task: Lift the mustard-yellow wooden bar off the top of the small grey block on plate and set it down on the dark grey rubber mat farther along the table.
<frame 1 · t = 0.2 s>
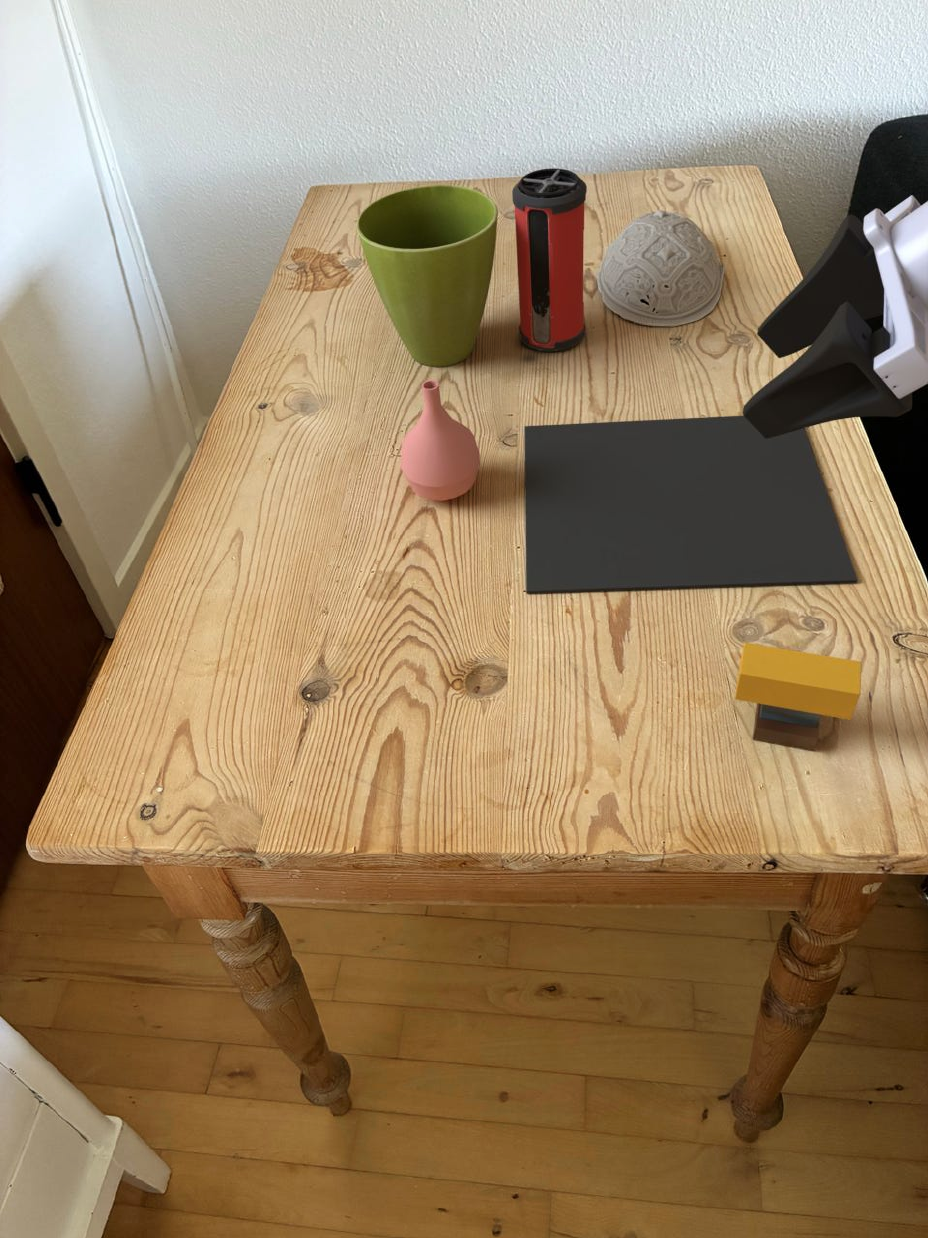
hand: (761, 381, 51), 29 cm above the table, tool tilted 45°, fingers open, 7 cm apart
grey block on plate: (785, 722, 71), on the table
flower pot: (442, 352, 110), on the table
mat: (673, 498, 89), on the table
speaker: (552, 337, 110), on the table
carved stone dome: (660, 275, 118), on the table
pink bud vase: (444, 490, 93), on the table
bar: (793, 693, 68), point 3 cm above the table, touching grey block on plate
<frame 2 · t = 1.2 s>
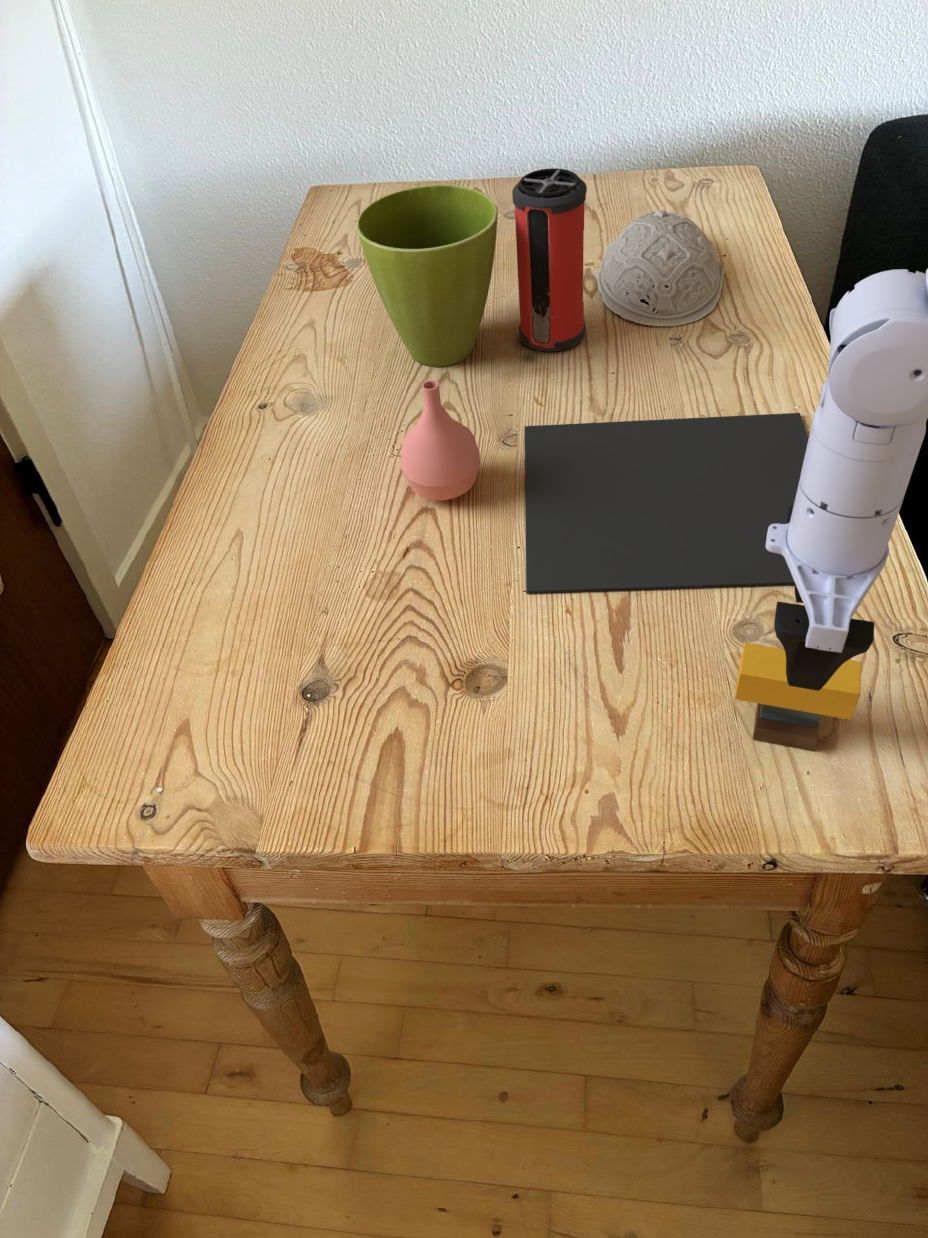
hand: (807, 641, 64), 9 cm above the table, tool pointing down, fingers open, 7 cm apart
nothing on the table moved.
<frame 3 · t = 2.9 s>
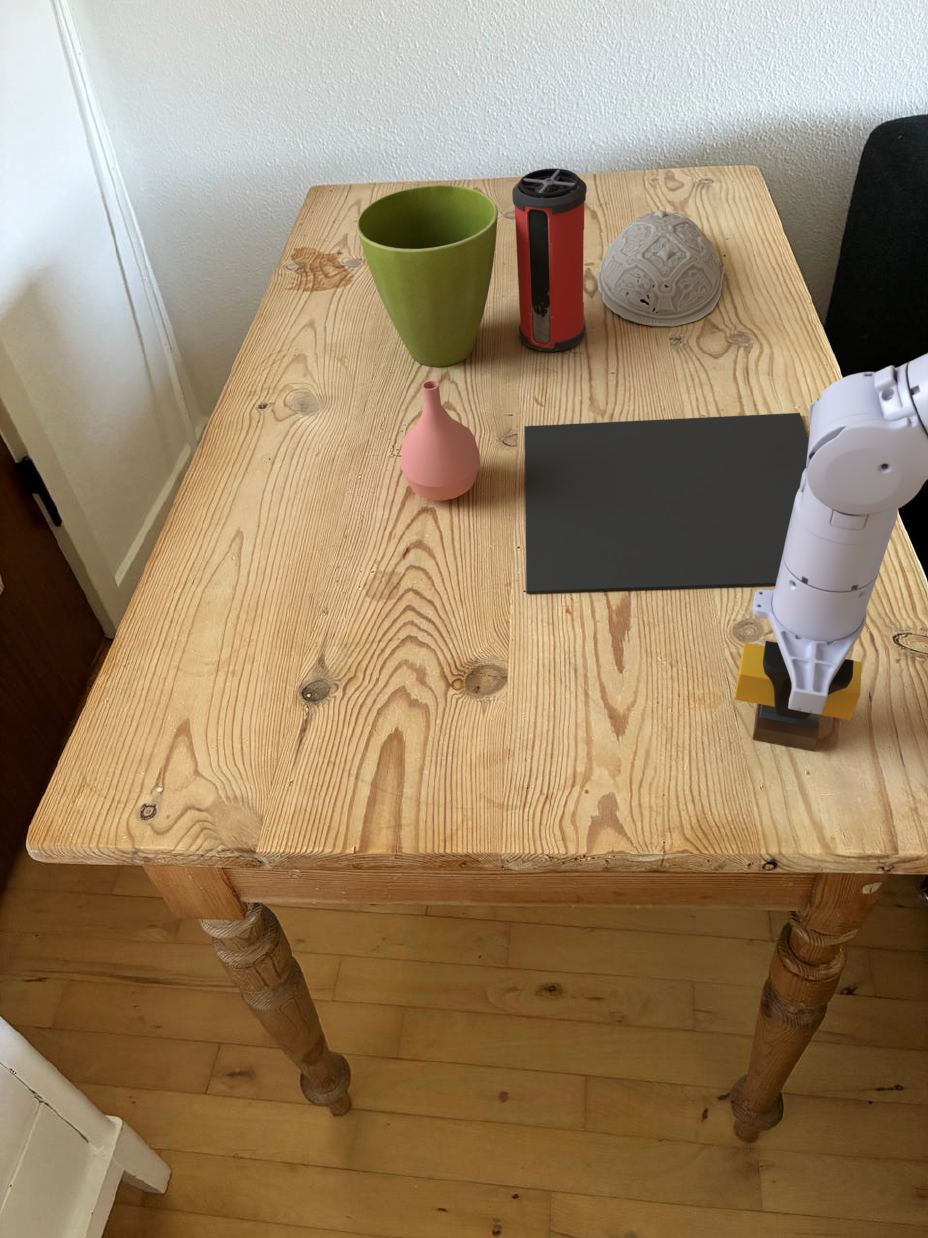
hand: (793, 694, 68), 3 cm above the table, tool pointing down, fingers closed on bar, 3 cm apart
bar: (793, 693, 68), point 4 cm above the table, touching gripper, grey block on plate
everything else where it was.
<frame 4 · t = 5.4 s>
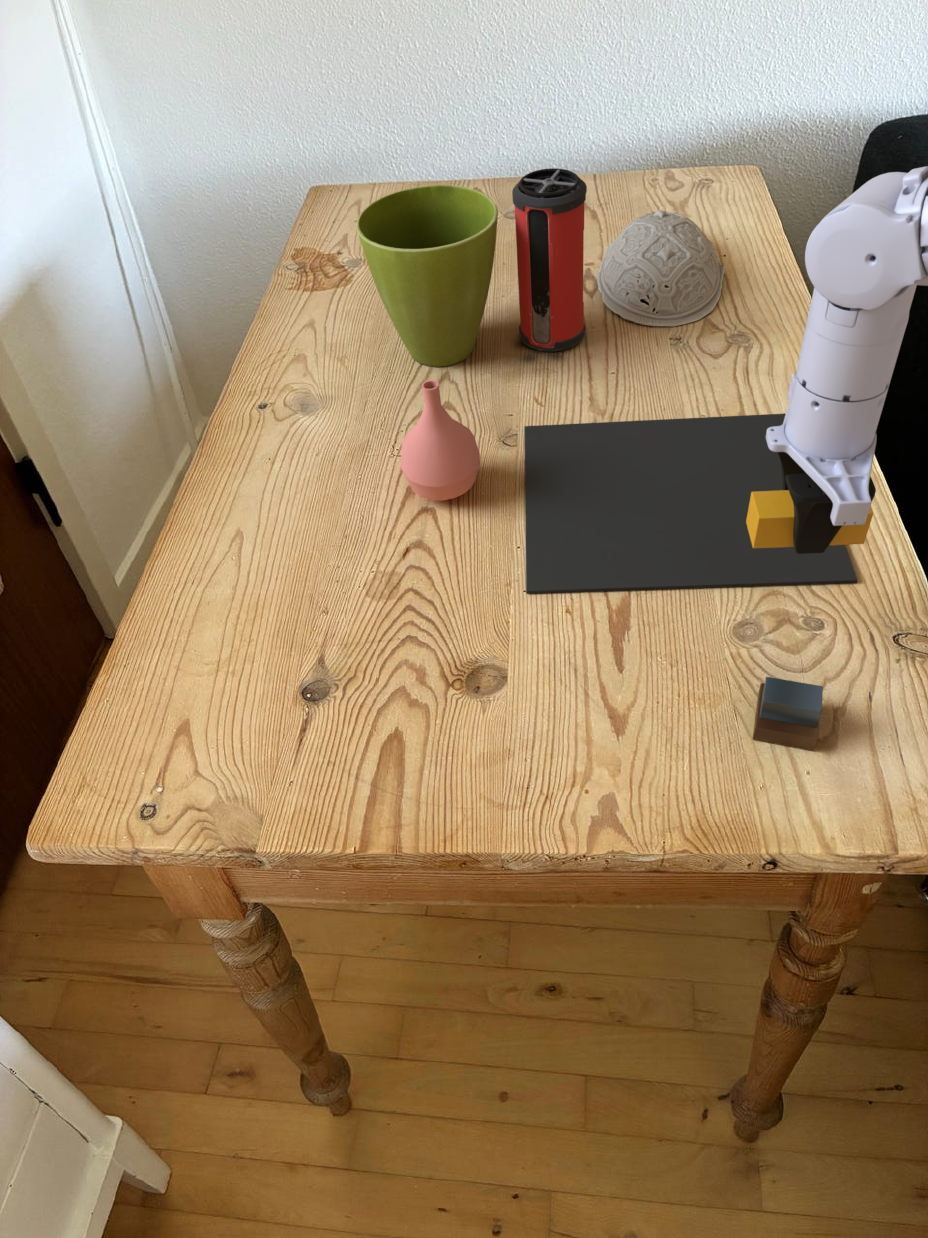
hand: (804, 533, 70), 10 cm above the table, tool pointing down, fingers closed on bar, 3 cm apart
bar: (803, 532, 70), point 10 cm above the table, touching gripper
everything else where it was.
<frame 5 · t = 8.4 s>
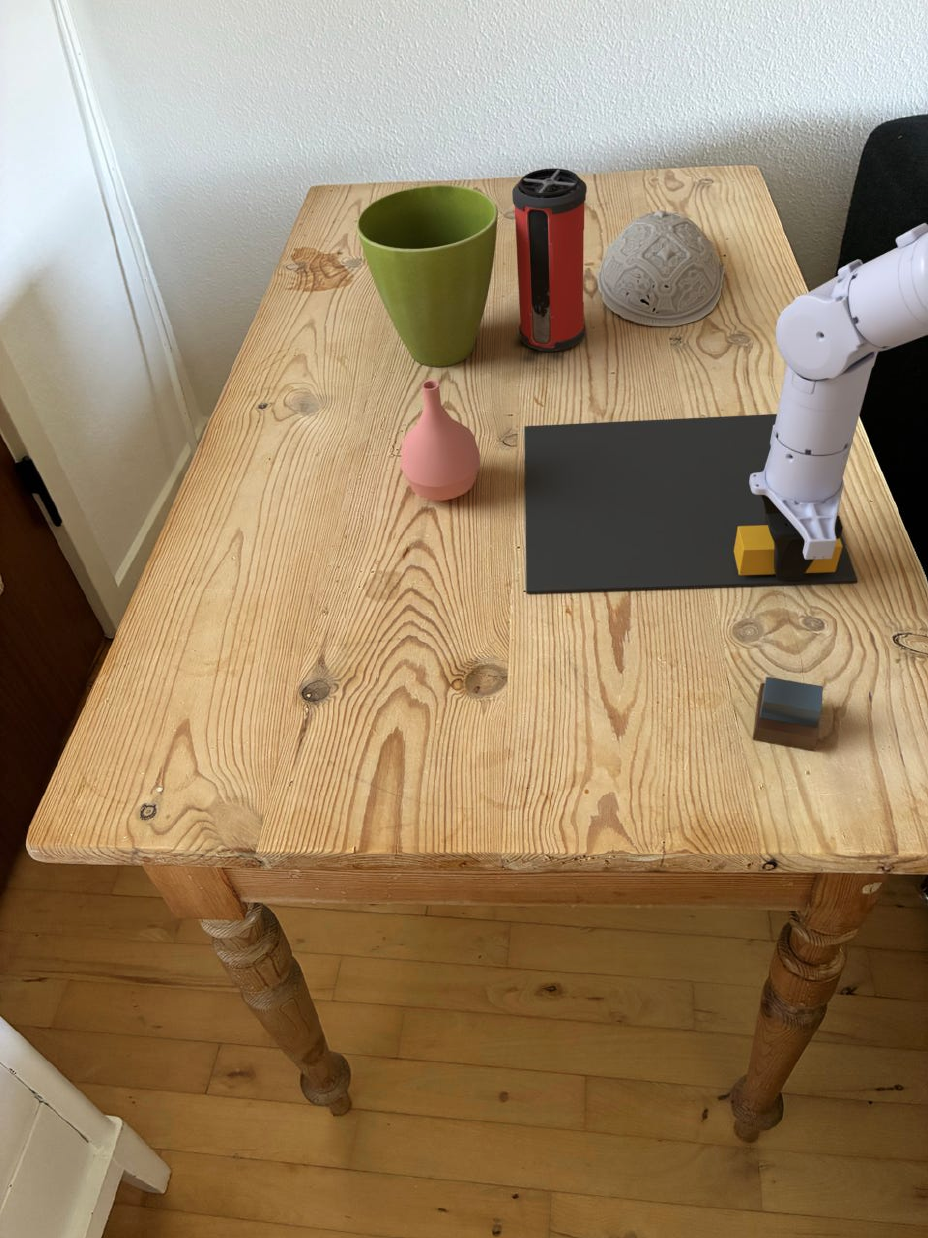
hand: (784, 562, 81), 1 cm above the table, tool pointing down, fingers closed on bar, 3 cm apart
bar: (783, 561, 81), point 1 cm above the table, touching gripper
everything else where it was.
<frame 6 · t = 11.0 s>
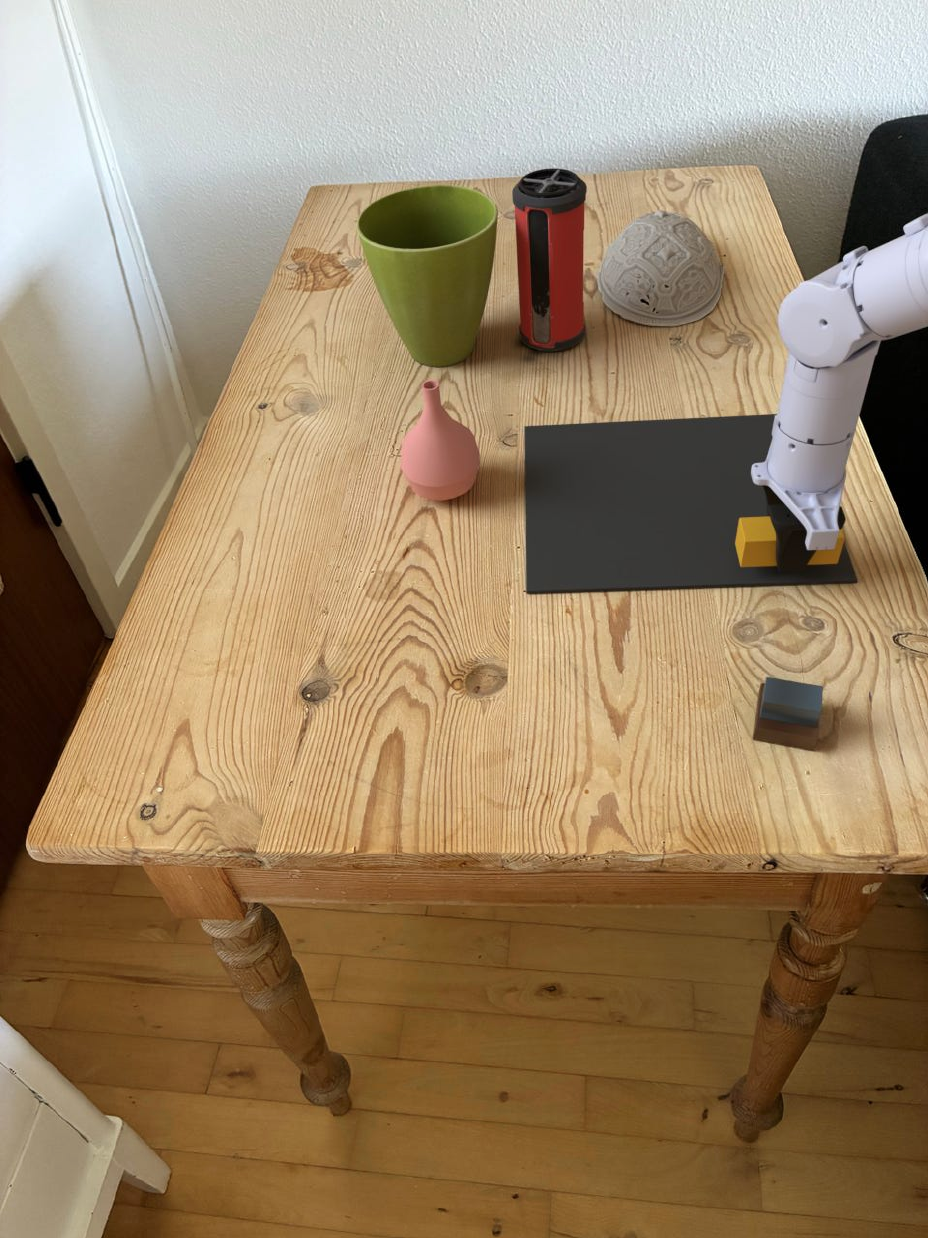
hand: (785, 554, 80), 2 cm above the table, tool pointing down, fingers closed on bar, 3 cm apart
bar: (785, 553, 80), point 2 cm above the table, touching gripper
everything else where it was.
when the fingers open (2 cm above the table, at t = 13.3 s): bar drops 2 cm, resting on mat.
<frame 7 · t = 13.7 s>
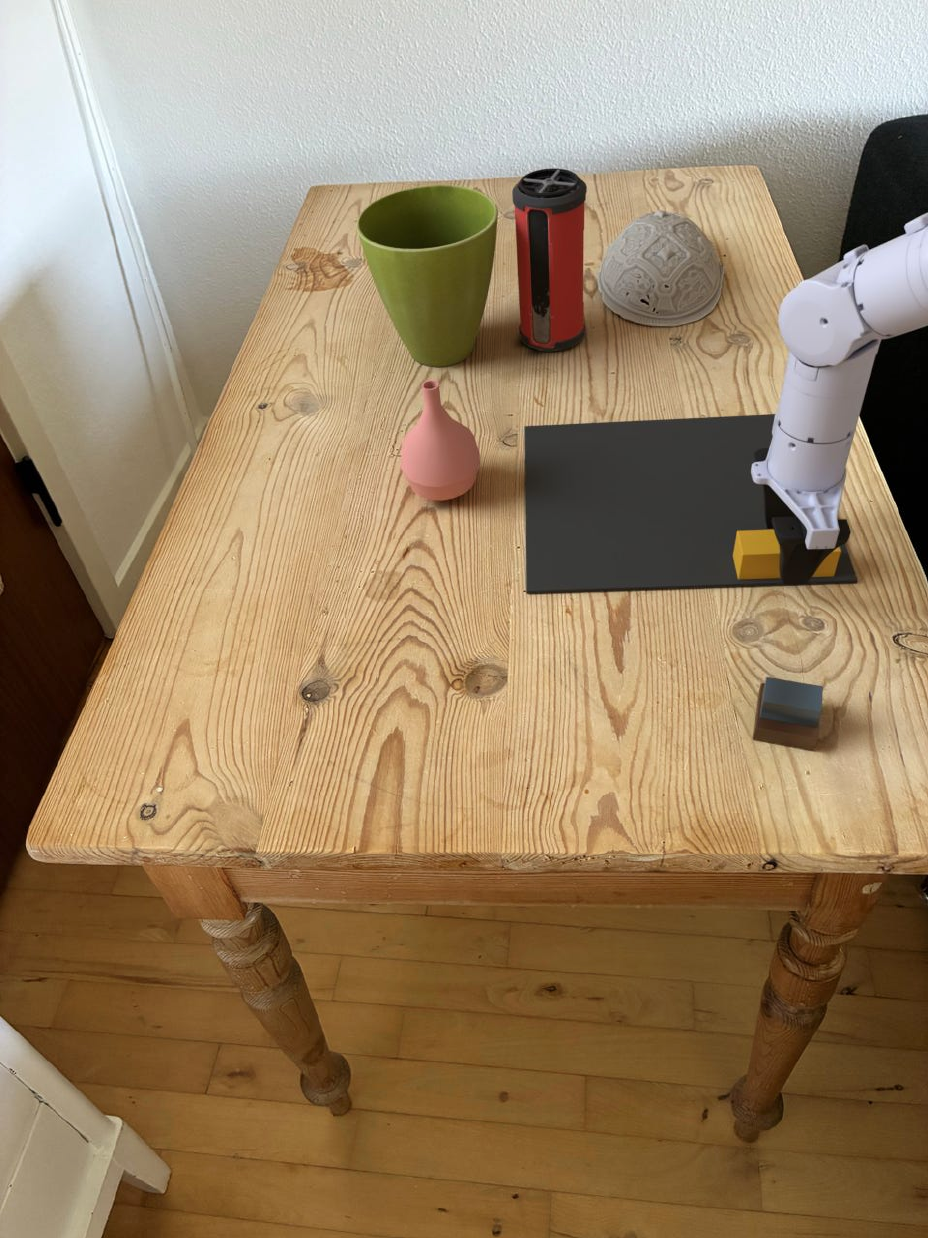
hand: (785, 553, 80), 2 cm above the table, tool pointing down, fingers open, 6 cm apart
bar: (782, 566, 81), resting on mat
everything else where it was.
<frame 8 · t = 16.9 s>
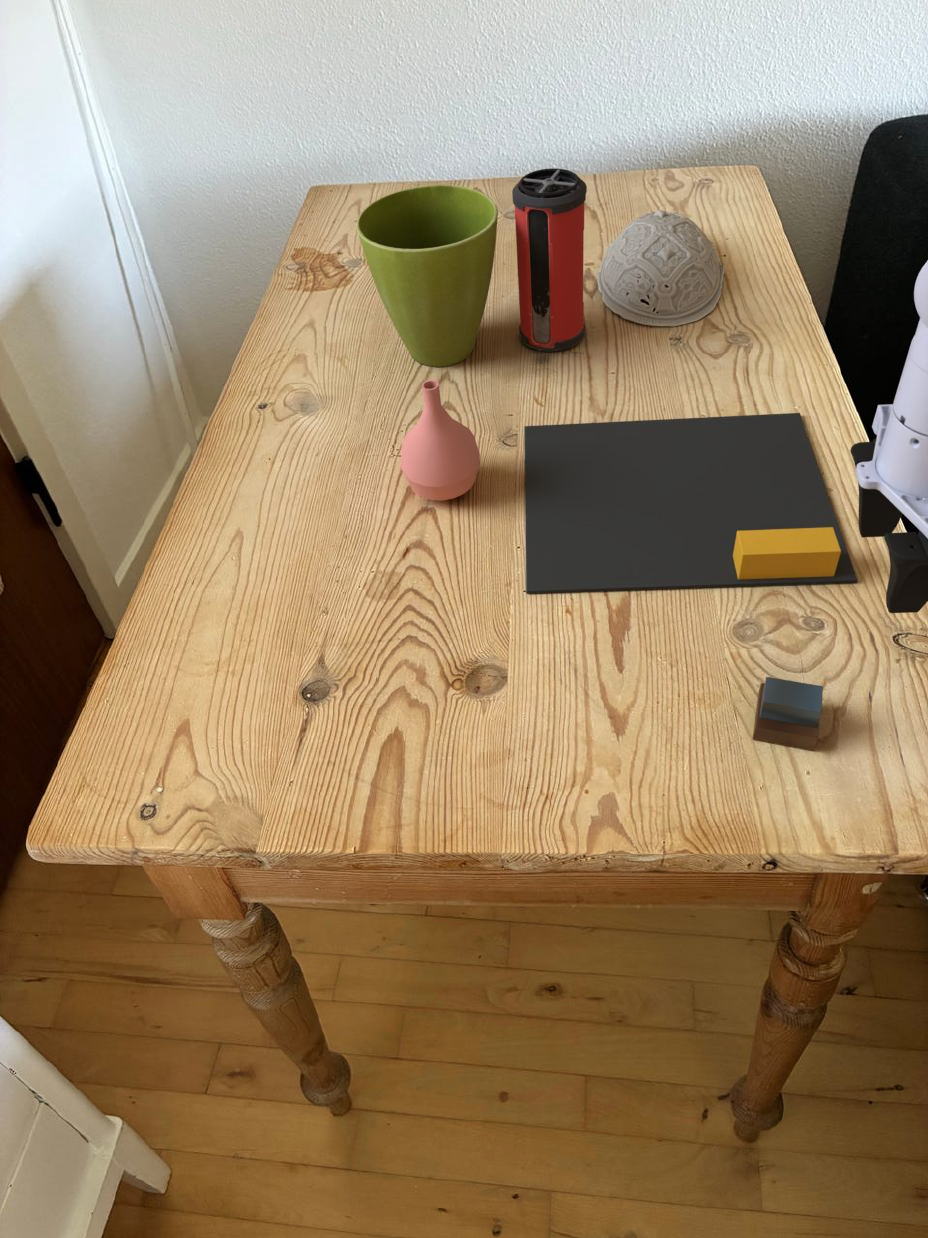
hand: (887, 570, 67), 9 cm above the table, tool pointing down, fingers open, 7 cm apart
nothing on the table moved.
at the end: bar inside the target area on the mat (0.5 cm from its centre), point 0.4 cm above the mat's base; bar touching mat; the gripper is holding nothing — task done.
